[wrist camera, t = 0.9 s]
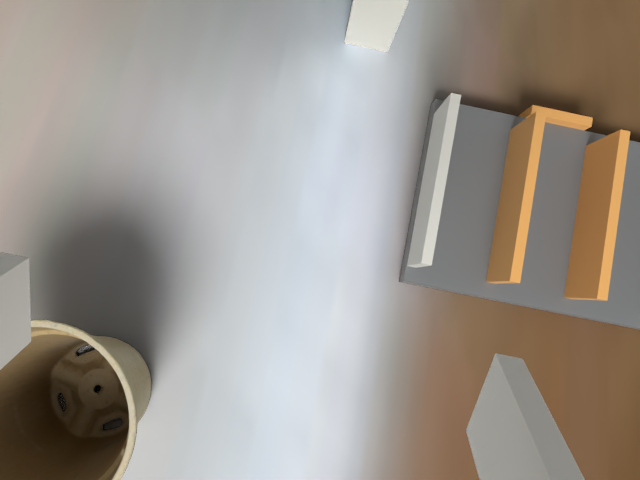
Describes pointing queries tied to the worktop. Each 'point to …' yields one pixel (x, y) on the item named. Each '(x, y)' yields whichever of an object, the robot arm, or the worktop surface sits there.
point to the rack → (528, 212)
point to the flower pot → (70, 406)
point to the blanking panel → (374, 23)
